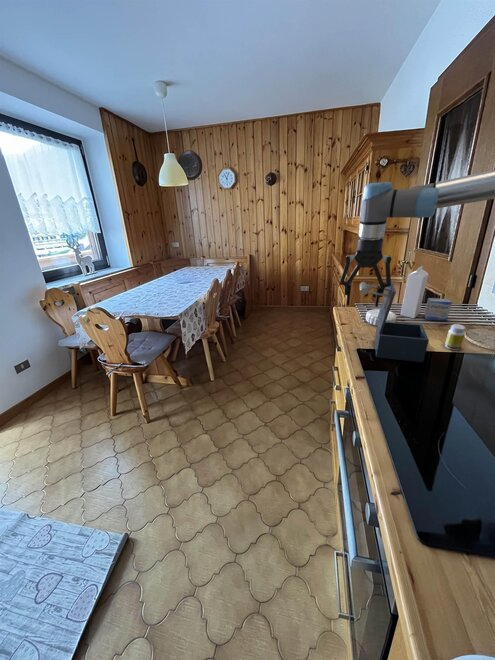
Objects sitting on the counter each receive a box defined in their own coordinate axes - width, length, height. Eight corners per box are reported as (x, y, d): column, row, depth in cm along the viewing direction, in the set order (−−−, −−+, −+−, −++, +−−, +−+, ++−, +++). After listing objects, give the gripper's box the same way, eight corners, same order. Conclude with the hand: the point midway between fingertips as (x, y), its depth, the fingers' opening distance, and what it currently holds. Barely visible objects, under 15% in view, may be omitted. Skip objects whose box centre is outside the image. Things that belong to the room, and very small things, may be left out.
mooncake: (376, 328, 119) (377, 321, 117) (360, 317, 129) (361, 310, 127) (401, 324, 120) (403, 316, 119) (383, 313, 131) (385, 306, 129)
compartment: (416, 345, 105) (422, 324, 101) (422, 362, 95) (428, 340, 91) (374, 341, 110) (377, 320, 106) (376, 357, 100) (379, 335, 96)
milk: (419, 314, 128) (431, 266, 118) (414, 318, 125) (425, 269, 114) (405, 310, 132) (415, 264, 122) (399, 315, 129) (409, 267, 118)
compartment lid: (392, 280, 98) (361, 275, 100) (396, 292, 88) (361, 286, 91) (379, 320, 105) (350, 314, 108) (381, 334, 96) (350, 328, 98)
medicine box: (426, 319, 123) (430, 301, 119) (423, 315, 127) (428, 297, 123) (447, 321, 121) (452, 302, 117) (443, 316, 124) (449, 298, 120)
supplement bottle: (463, 350, 100) (470, 329, 97) (449, 350, 101) (456, 329, 97) (454, 343, 105) (461, 323, 101) (441, 344, 105) (447, 323, 101)
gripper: (407, 235, 88) (394, 302, 99) (336, 236, 95) (331, 298, 105) (410, 239, 82) (396, 311, 93) (334, 240, 89) (329, 306, 99)
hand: (361, 304), depth 99 cm, fingers open, 9 cm apart
